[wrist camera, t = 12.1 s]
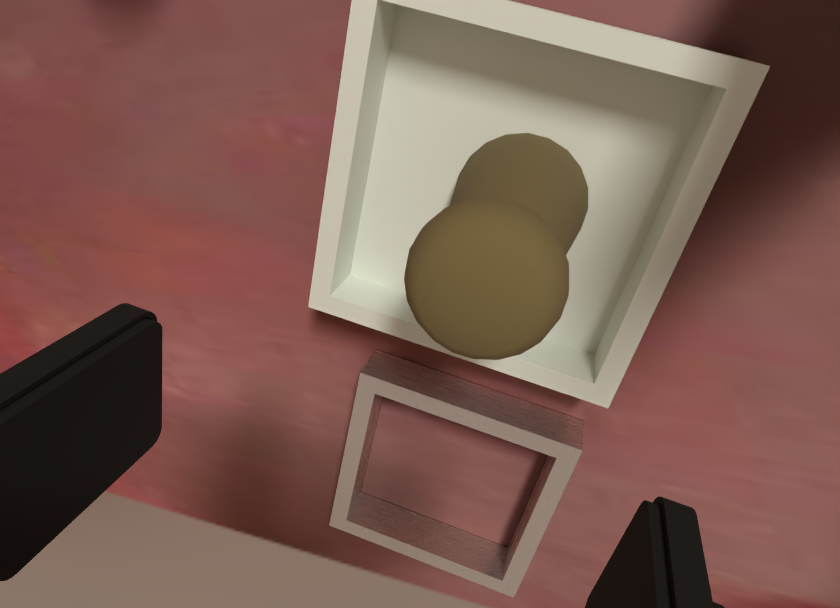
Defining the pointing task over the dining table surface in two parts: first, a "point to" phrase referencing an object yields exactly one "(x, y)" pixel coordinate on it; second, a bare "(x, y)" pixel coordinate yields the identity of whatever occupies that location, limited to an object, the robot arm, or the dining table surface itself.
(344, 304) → the tray
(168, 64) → the dining table surface
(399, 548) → the collar
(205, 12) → the dining table surface
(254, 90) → the dining table surface
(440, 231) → the cork
